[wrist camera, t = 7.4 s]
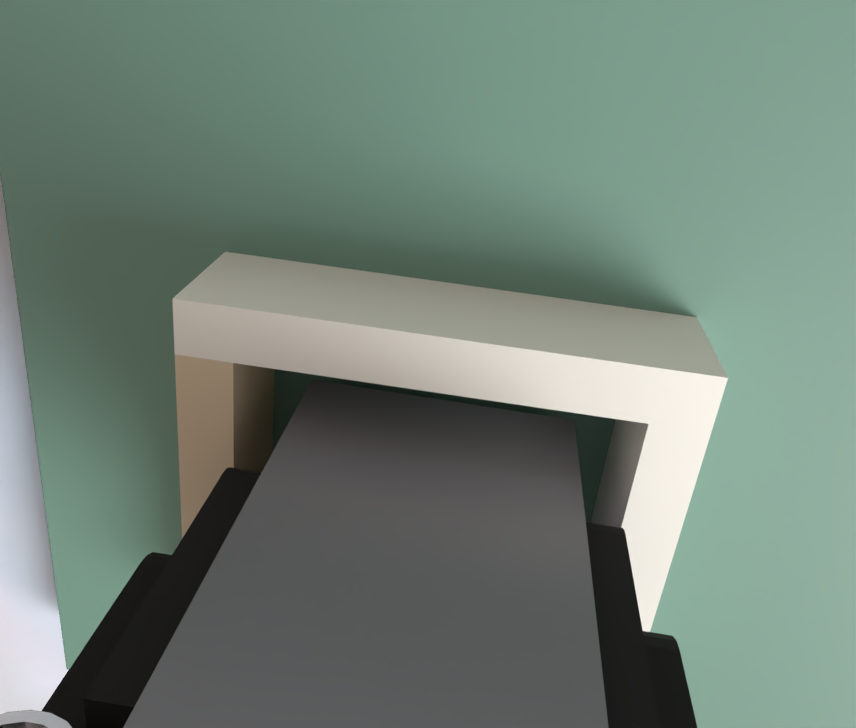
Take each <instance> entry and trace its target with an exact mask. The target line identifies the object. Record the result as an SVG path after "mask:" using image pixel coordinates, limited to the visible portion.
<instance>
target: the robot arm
mask: <svg viewBox="0 0 856 728" xmlns="http://www.w3.org/2000/svg"><path fill="white" fill-rule="evenodd" d="M261 473H262V472H258V471H251V470H245V469H238V468H232V467H229V468H226V470H225V471H224V472H223V474H222V475H221V477H220V478H219V480H218V482H217V483H216V485H215V486H214V488H213V490H212V491H211V493H210V495H209V496H208V498H207V499H206V501H205V503H204V504H203V506H202V507H201V509H200V511H199V512H198V514H197V515H196V517H195V519H194V520H193V522H192V524H191V525H190V527H189V528H188V530H187V532H186V533H185V535H184V536H183V538H182V540H181V541H180V543H179V545H178V546H177V548H176V549H175V551H174V553H173V554H172V555H168V554H162V553H156V552H152V553H150V554H148V555H147V556H146V557H145V558H144V559H143V560H142V562H141V563H140V564H139V566H138V567H137V569H136V570H135V572H134V573H133V575H132V576H131V578H130V579H129V581H128V582H127V584H126V585H125V587H124V588H123V590H122V591H121V593H120V594H119V596H118V597H117V599H116V600H115V602H114V603H113V605H112V606H111V608H110V609H109V611H108V612H107V614H106V615H105V617H104V618H103V620H102V621H101V623H100V624H99V626H98V627H97V629H96V630H95V632H94V633H93V635H92V636H91V638H90V639H89V641H88V642H87V644H86V645H85V647H84V648H83V650H82V651H81V653H80V654H79V656H78V657H77V659H76V660H75V662H74V663H73V665H72V666H71V668H70V669H69V671H68V672H67V674H66V675H65V677H64V678H63V680H62V681H61V683H60V684H59V686H58V687H57V689H56V690H55V692H54V693H53V695H52V696H51V698H50V699H49V701H48V702H47V704H46V705H45V707H44V708H43V710H42V711H36V710H23V711H13V712H6V713H3V714H0V728H123V727H124V725H125V723H126V721H127V720H128V718H129V716H130V714H131V712H132V710H133V709H134V707H135V705H136V703H137V701H138V699H139V697H140V696H141V694H142V692H143V690H144V688H145V686H146V685H147V683H148V681H149V679H150V677H151V675H152V674H153V672H154V670H155V668H156V666H157V664H158V662H159V661H160V659H161V657H162V655H163V653H164V651H165V650H166V648H167V646H168V644H169V642H170V640H171V639H172V637H173V635H174V633H175V631H176V629H177V627H178V626H179V624H180V622H181V620H182V618H183V616H184V615H185V613H186V611H187V609H188V607H189V605H190V604H191V602H192V600H193V598H194V596H195V594H196V592H197V591H198V589H199V587H200V585H201V583H202V581H203V580H204V578H205V576H206V574H207V572H208V570H209V569H210V567H211V565H212V563H213V561H214V559H215V557H216V556H217V554H218V552H219V550H220V548H221V546H222V545H223V543H224V541H225V539H226V537H227V535H228V534H229V532H230V530H231V528H232V526H233V524H234V522H235V521H236V519H237V517H238V515H239V513H240V511H241V510H242V508H243V506H244V504H245V502H246V500H247V499H248V497H249V495H250V493H251V491H252V489H253V487H254V486H255V484H256V482H257V480H258V478H259V476H260V475H261ZM586 529H587V538H588V547H589V556H590V565H591V574H592V583H593V592H594V601H595V610H596V619H597V628H598V637H599V646H600V655H601V664H602V673H603V682H604V691H605V700H606V709H607V718H608V727H609V728H697V724H696V719H695V715H694V711H693V706H692V702H691V697H690V693H689V689H688V684H687V680H686V675H685V671H684V667H683V662H682V658H681V654H680V650H679V647H678V644H677V641H676V639H675V638H674V637H673V636H671V635H665V634H659V633H653V632H647V631H643V630H642V625H641V619H640V613H639V608H638V602H637V596H636V591H635V585H634V579H633V574H632V568H631V563H630V557H629V551H628V546H627V540H626V534H625V531H624V529H623V528H621V527H614V526H608V525H602V524H595V523H589V522H586Z"/></svg>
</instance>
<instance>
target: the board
mask: <svg viewBox="0 0 856 728" xmlns="http://www.w3.org/2000/svg"><path fill="white" fill-rule="evenodd" d="M0 173H1V180H2V188H3V195H4V203H5V210H6V218H7V225H8V233H9V240H10V248H11V255H12V263H13V270H14V278H15V285H16V293H17V300H18V308H19V315H20V323H21V330H22V338H23V345H24V353H25V360H26V368H27V375H28V383H29V390H30V398H31V405H32V413H33V420H34V428H35V435H36V443H37V450H38V458H39V465H40V473H41V480H42V488H43V495H44V503H45V510H46V518H47V525H48V533H49V540H50V548H51V555H52V563H53V570H54V578H55V585H56V593H57V600H58V608H59V615H60V623H61V630H62V638H63V645H64V653H65V660H66V668H67V669H70V668H71V666H72V665H73V663H74V662H75V660H76V659H77V657H78V656H79V654H80V653H81V651H82V650H83V648H84V647H85V645H86V644H87V642H88V641H89V639H90V638H91V636H92V635H93V633H94V632H95V630H96V629H97V627H98V626H99V624H100V623H101V621H102V620H103V618H104V617H105V615H106V614H107V612H108V611H109V609H110V608H111V606H112V605H113V603H114V602H115V600H116V599H117V597H118V596H119V594H120V593H121V591H122V590H123V588H124V587H125V585H126V584H127V582H128V581H129V579H130V578H131V576H132V575H133V573H134V572H135V570H136V569H137V567H138V566H139V564H140V563H141V562H142V560H143V559H144V558H145V557H146V556H147V555H148V554H150V553H152V552H156V553H162V554H168V555H172V554H173V553H174V551H175V549H176V548H177V546H178V545H179V543H180V541H181V540H182V538H183V536H184V535H185V533H186V532H187V530H188V528H189V527H190V525H191V524H192V522H193V520H194V519H195V517H196V515H197V514H198V512H199V511H200V509H201V507H202V506H203V504H204V503H205V501H206V499H207V498H208V496H209V495H210V493H211V491H212V490H213V488H214V486H215V485H216V483H217V482H218V480H219V478H220V477H221V475H222V474H223V472H224V471H225V470H226V468H229V467H232V468H238V469H245V470H251V471H258V472H262V471H263V469H264V467H265V465H266V464H267V462H268V460H269V458H270V456H271V454H272V452H273V451H274V449H275V447H276V445H277V443H278V441H279V440H280V438H281V436H282V434H283V432H284V430H285V428H286V427H287V425H288V423H289V421H290V419H291V417H292V416H293V414H294V412H295V410H296V408H297V406H298V405H299V403H300V401H301V399H302V397H303V395H304V393H305V392H306V390H307V388H308V386H309V384H310V382H311V381H312V380H318V381H324V382H331V383H337V384H344V385H350V386H356V387H363V388H369V389H376V390H382V391H389V392H395V393H402V394H408V395H415V396H421V397H428V398H434V399H441V400H447V401H454V402H460V403H466V404H473V405H479V406H486V407H492V408H499V409H505V410H512V411H518V412H525V413H531V414H538V415H544V416H551V417H557V418H564V419H570V420H575V429H576V438H577V447H578V456H579V465H580V474H581V483H582V492H583V502H584V511H585V520H586V522H589V523H595V524H602V525H608V526H614V527H621V528H623V529H624V531H625V534H626V540H627V546H628V551H629V557H630V563H631V568H632V574H633V579H634V585H635V591H636V596H637V602H638V608H639V613H640V619H641V625H642V630H643V631H647V632H653V633H659V634H665V635H671V636H673V637H674V638H675V639H676V641H677V644H678V647H679V650H680V654H681V658H682V662H683V667H684V671H685V675H686V680H687V684H688V689H689V693H690V697H691V702H692V706H693V711H694V715H695V719H696V724H697V728H856V0H0Z"/></svg>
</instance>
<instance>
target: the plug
mask: <svg viewBox="0 0 856 728" xmlns="http://www.w3.org/2000/svg"><path fill="white" fill-rule="evenodd" d="M123 728H609V727H608V718H607V709H606V700H605V691H604V682H603V673H602V664H601V655H600V646H599V637H598V628H597V619H596V610H595V601H594V592H593V583H592V574H591V565H590V556H589V547H588V538H587V529H586V520H585V511H584V502H583V492H582V483H581V474H580V465H579V456H578V447H577V438H576V429H575V420H570V419H564V418H557V417H551V416H544V415H538V414H531V413H525V412H518V411H512V410H505V409H499V408H492V407H486V406H479V405H473V404H466V403H460V402H454V401H447V400H441V399H434V398H428V397H421V396H415V395H408V394H402V393H395V392H389V391H382V390H376V389H369V388H363V387H356V386H350V385H344V384H337V383H331V382H324V381H318V380H312V381H311V382H310V384H309V386H308V388H307V390H306V392H305V393H304V395H303V397H302V399H301V401H300V403H299V405H298V406H297V408H296V410H295V412H294V414H293V416H292V417H291V419H290V421H289V423H288V425H287V427H286V428H285V430H284V432H283V434H282V436H281V438H280V440H279V441H278V443H277V445H276V447H275V449H274V451H273V452H272V454H271V456H270V458H269V460H268V462H267V464H266V465H265V467H264V469H263V471H262V473H261V475H260V476H259V478H258V480H257V482H256V484H255V486H254V487H253V489H252V491H251V493H250V495H249V497H248V499H247V500H246V502H245V504H244V506H243V508H242V510H241V511H240V513H239V515H238V517H237V519H236V521H235V522H234V524H233V526H232V528H231V530H230V532H229V534H228V535H227V537H226V539H225V541H224V543H223V545H222V546H221V548H220V550H219V552H218V554H217V556H216V557H215V559H214V561H213V563H212V565H211V567H210V569H209V570H208V572H207V574H206V576H205V578H204V580H203V581H202V583H201V585H200V587H199V589H198V591H197V592H196V594H195V596H194V598H193V600H192V602H191V604H190V605H189V607H188V609H187V611H186V613H185V615H184V616H183V618H182V620H181V622H180V624H179V626H178V627H177V629H176V631H175V633H174V635H173V637H172V639H171V640H170V642H169V644H168V646H167V648H166V650H165V651H164V653H163V655H162V657H161V659H160V661H159V662H158V664H157V666H156V668H155V670H154V672H153V674H152V675H151V677H150V679H149V681H148V683H147V685H146V686H145V688H144V690H143V692H142V694H141V696H140V697H139V699H138V701H137V703H136V705H135V707H134V709H133V710H132V712H131V714H130V716H129V718H128V720H127V721H126V723H125V725H124V727H123Z"/></svg>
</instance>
